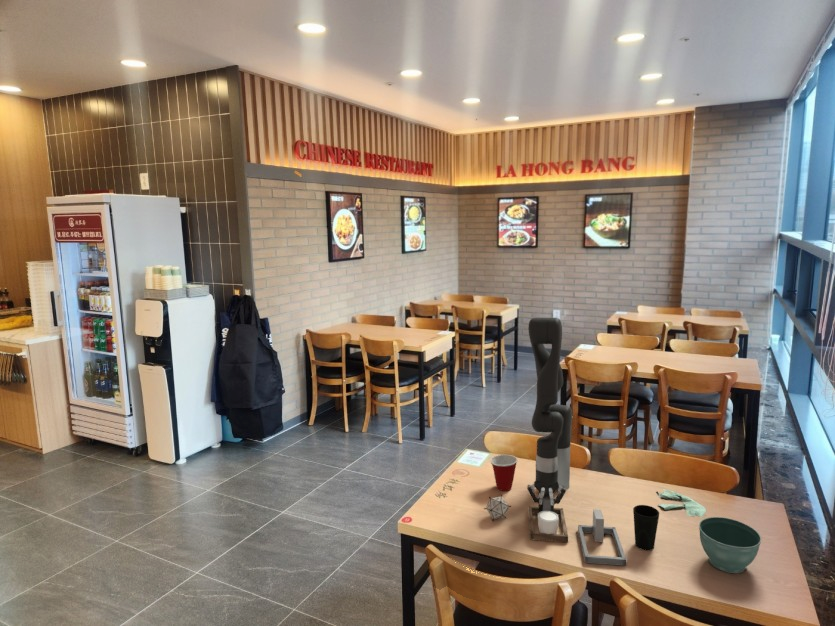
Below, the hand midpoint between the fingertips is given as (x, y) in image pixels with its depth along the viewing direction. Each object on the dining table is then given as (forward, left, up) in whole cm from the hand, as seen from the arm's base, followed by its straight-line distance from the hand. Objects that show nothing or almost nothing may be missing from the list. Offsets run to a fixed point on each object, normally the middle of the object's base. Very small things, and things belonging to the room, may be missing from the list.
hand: (546, 513), depth 193 cm
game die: (+2, -17, -2) cm, 17 cm away
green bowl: (+20, +52, -2) cm, 56 cm away
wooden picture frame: (+6, 0, -1) cm, 6 cm away
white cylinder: (+11, 0, -2) cm, 11 cm away
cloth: (-17, +47, -3) cm, 50 cm away
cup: (+13, +30, -2) cm, 33 cm away
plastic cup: (-21, -15, -2) cm, 26 cm away
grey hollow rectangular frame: (+16, +16, -1) cm, 23 cm away
